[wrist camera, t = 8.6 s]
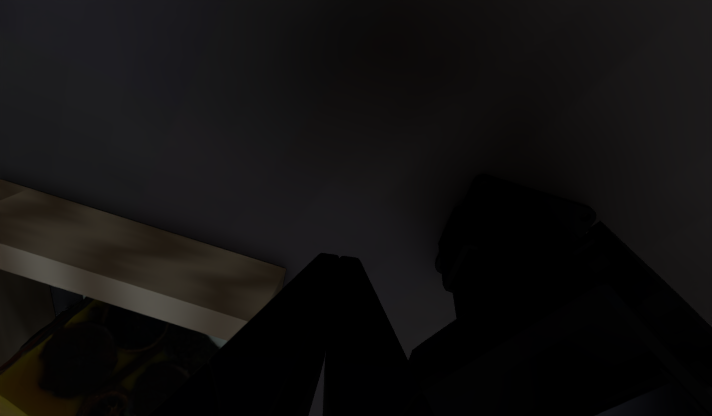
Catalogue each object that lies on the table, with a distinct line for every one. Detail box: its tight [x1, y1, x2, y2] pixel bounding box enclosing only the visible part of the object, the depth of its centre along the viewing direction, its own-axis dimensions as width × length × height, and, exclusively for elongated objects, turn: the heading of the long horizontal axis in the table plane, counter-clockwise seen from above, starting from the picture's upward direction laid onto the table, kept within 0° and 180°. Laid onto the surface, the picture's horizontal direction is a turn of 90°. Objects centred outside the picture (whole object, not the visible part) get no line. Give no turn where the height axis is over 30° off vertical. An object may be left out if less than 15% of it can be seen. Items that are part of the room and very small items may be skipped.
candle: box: [0, 296, 219, 416], centre depth 24 cm, size 10×10×10 cm
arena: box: [0, 179, 286, 367], centre depth 26 cm, size 20×21×5 cm
